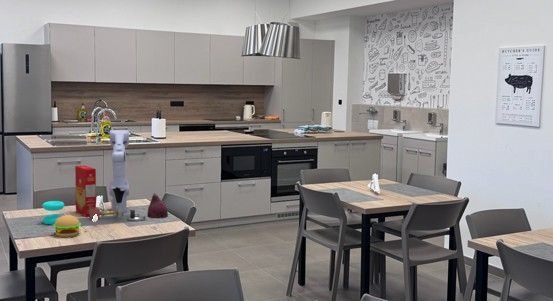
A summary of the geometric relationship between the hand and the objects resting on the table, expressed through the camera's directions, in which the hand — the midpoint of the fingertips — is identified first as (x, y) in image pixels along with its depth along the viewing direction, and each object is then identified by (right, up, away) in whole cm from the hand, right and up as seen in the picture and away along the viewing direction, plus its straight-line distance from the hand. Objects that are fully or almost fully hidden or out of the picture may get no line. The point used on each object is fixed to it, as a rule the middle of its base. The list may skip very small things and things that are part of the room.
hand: (119, 202), depth 292 cm
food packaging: (-20, -8, +12) cm, 25 cm away
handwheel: (+8, -8, +2) cm, 12 cm away
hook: (-7, -8, +3) cm, 11 cm away
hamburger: (-16, -12, -27) cm, 33 cm away
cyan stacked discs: (-30, -9, -5) cm, 32 cm away
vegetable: (+17, -9, +11) cm, 22 cm away
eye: (-2, -8, +6) cm, 10 cm away
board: (-4, -9, 0) cm, 10 cm away
